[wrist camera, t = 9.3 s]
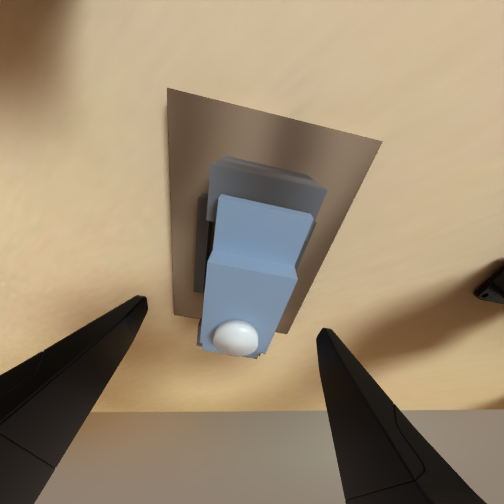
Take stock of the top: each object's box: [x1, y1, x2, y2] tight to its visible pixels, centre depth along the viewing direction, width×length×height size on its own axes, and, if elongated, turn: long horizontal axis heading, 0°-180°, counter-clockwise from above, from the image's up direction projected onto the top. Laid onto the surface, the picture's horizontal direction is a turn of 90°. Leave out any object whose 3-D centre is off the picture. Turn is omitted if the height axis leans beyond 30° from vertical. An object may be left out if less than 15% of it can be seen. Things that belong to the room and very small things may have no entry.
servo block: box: [200, 194, 314, 359], centre depth 12 cm, size 4×11×7 cm, turn 168°
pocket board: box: [167, 88, 383, 356], centre depth 13 cm, size 12×18×5 cm, turn 168°
